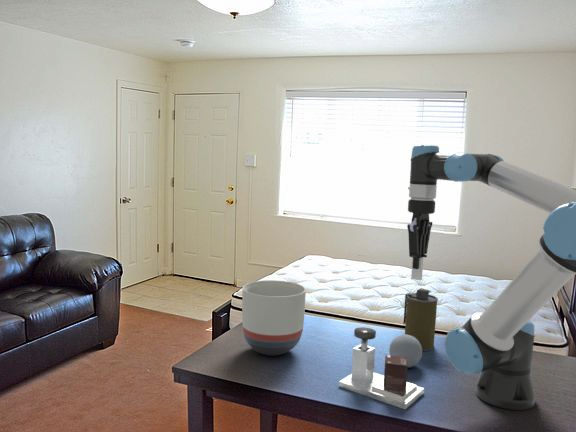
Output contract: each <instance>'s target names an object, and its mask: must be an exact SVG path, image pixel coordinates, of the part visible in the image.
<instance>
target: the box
mask: <svg viewBox="0 0 576 432" xmlns="http://www.w3.org/2000/svg"><path fill="white" fill-rule="evenodd" d="M384 359H385V360H384V369H383V371H384V372H383V376H384V389H392V390H401V391H406V384H407V382H408V368H409V367H408V362H407V357H398V356H390V354H389V355H387V354H386V355H385V356H384Z"/></svg>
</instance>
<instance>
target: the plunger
mask: <svg viewBox="0 0 576 432" xmlns="http://www.w3.org/2000/svg"><path fill="white" fill-rule="evenodd" d="M376 332H377V331H376V330H375V329H373V328H370V327H365V326H364V327H363V326H362V327H360V326H359V327H356V328H355V329H354V331H353V336H354V337H356V338H357V339H360V341H361V342H360V344H361V350H364V351H367V346H369V345H368V343H369V342H368V341H370V340H374V339H376V336H377V333H376Z"/></svg>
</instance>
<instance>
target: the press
mask: <svg viewBox="0 0 576 432" xmlns="http://www.w3.org/2000/svg"><path fill="white" fill-rule="evenodd" d="M375 354H376V348H375V347H373V346H369V345H367V351H364V350H361V343H360V344H358V345H356V346H354V347H353V348H352V359H351V360H352V361H351V374H349V375H347V376H345V377H344V378H342V379H341V380H339V383H338V387H340V388H342V389H346V390H348V391H351V392H355V393H357V394H360V395H362V396H366V397H368V398H371V399H373V400H374V399H375V400H378V401H379V402H383V403H385V404H388V405H391V406H394V407H398V408H400V409H402V410H407V409H408V408H409V407H410V406H411V405H412V404H414V403H415V402H416V401H417V400H418V399H419V398H420V397H422V396H423V395H424V393H425V388H424V387H421V386H418V385H417V384H414V383H411V382H408V381H407V384H406V391H401V390H392V389H384V374H380V373H377V372H375V360H376V359H375Z"/></svg>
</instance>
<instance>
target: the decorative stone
mask: <svg viewBox="0 0 576 432" xmlns="http://www.w3.org/2000/svg"><path fill="white" fill-rule="evenodd" d="M388 349H389V356H398V357H407V362H408V368H412V367H414V366H416V365H418V363H419V362H420V361H421V359H422V356H423V351H422V347H421V344H420V343H419V341H418V340H417V339H416V338H415V337H413V336H411V335H406V334H405V333H404V334H403V333H402V334H399V335H397V336H396V337H394V338H393V339H392V340H391V342H390V344H389V348H388Z"/></svg>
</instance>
